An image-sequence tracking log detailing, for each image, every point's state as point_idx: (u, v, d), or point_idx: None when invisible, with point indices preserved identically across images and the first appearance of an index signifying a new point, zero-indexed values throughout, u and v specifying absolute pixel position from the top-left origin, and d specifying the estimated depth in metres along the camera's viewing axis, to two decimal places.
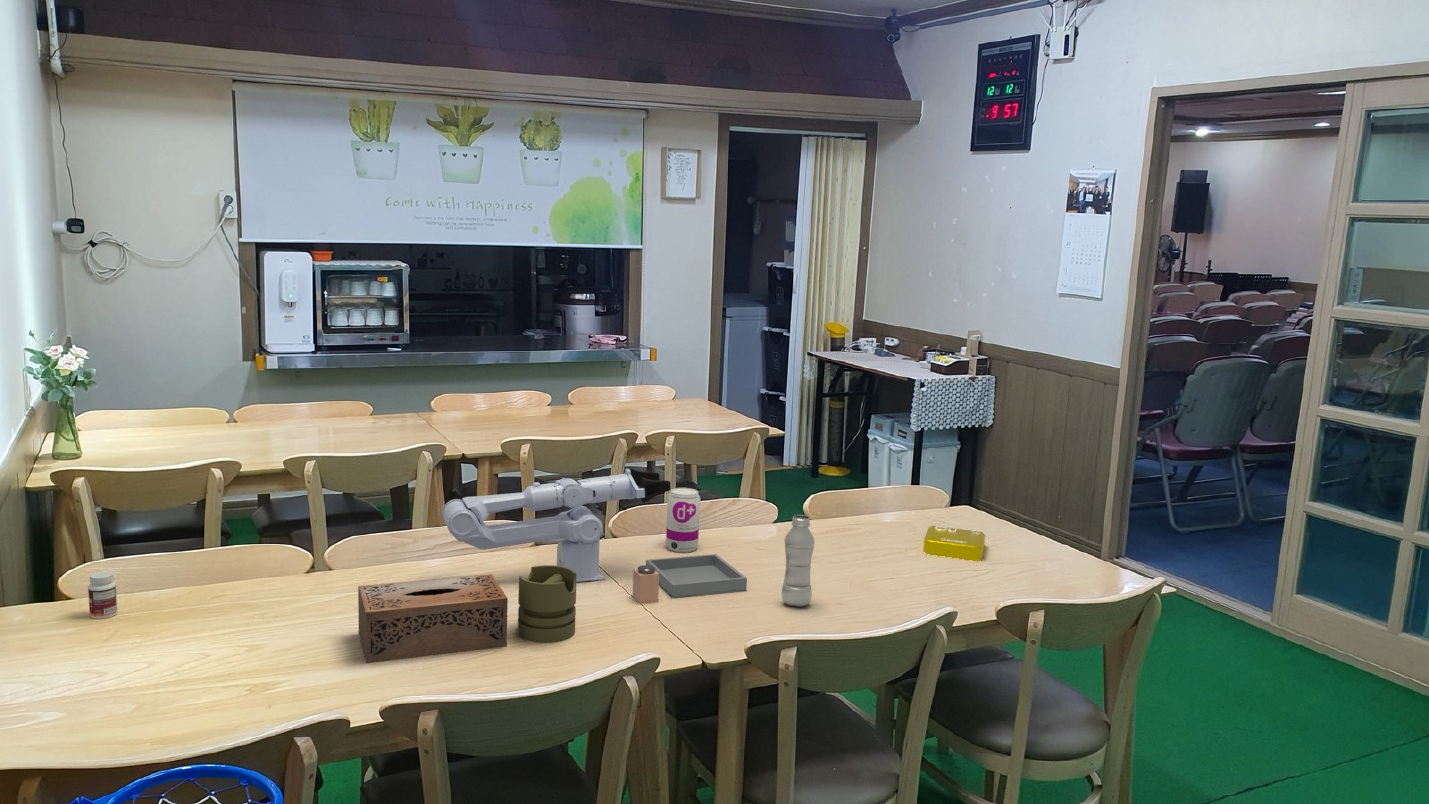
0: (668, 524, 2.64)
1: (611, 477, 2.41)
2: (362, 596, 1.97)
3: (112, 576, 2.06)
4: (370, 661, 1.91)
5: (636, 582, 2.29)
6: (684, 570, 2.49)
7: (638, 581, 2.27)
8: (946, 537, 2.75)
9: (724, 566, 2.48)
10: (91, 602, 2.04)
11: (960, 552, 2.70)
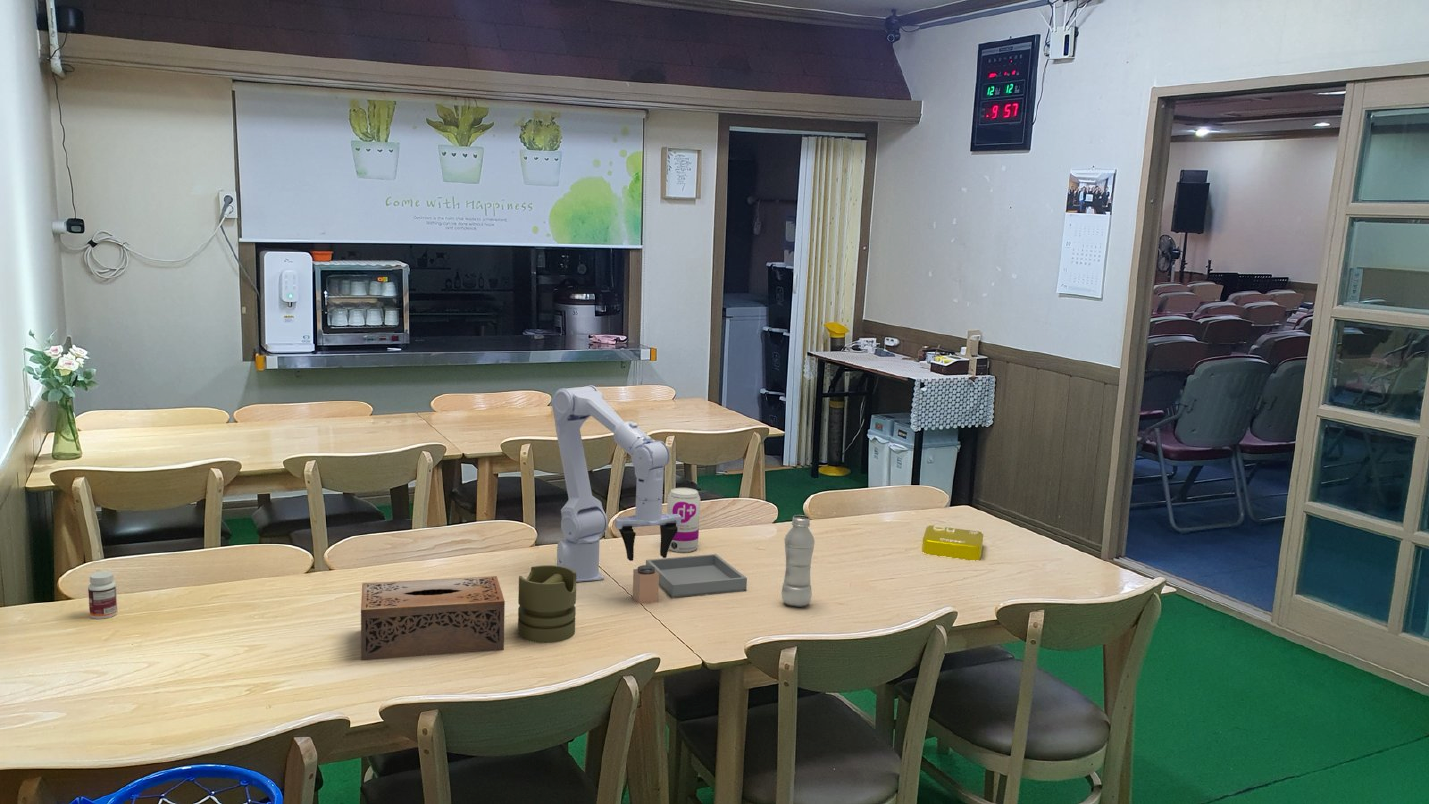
0: None
1: (650, 503, 2.24)
2: (363, 593, 1.98)
3: (112, 576, 2.06)
4: (365, 658, 1.92)
5: (636, 582, 2.29)
6: (684, 570, 2.49)
7: (638, 581, 2.27)
8: (944, 537, 2.75)
9: (724, 566, 2.48)
10: (91, 602, 2.04)
11: (959, 552, 2.70)
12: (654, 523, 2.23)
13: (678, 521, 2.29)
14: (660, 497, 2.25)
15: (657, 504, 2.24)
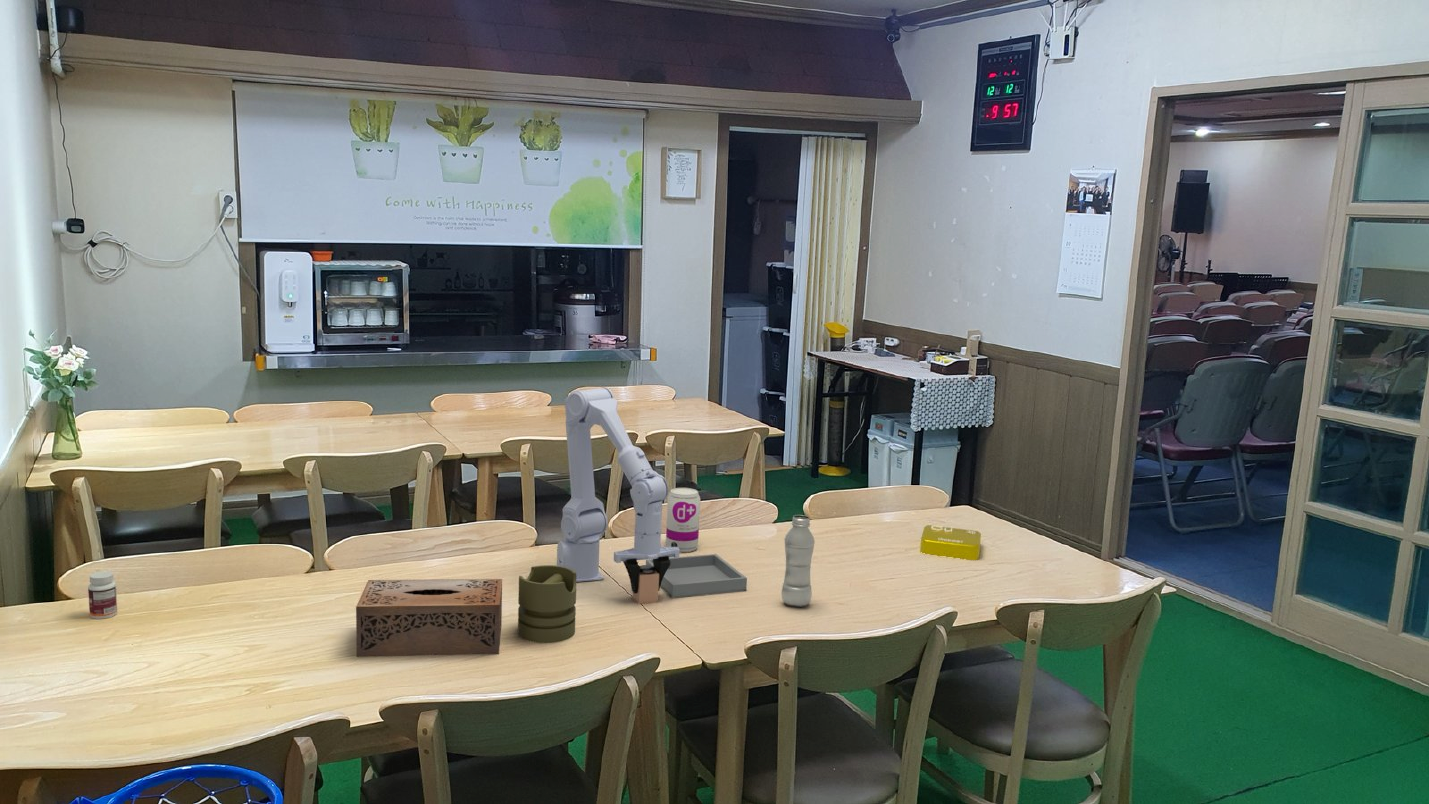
0: (668, 524, 2.64)
1: (649, 537, 2.25)
2: (364, 590, 2.00)
3: (112, 576, 2.06)
4: (361, 655, 1.94)
5: None
6: (684, 570, 2.49)
7: (638, 581, 2.27)
8: (943, 537, 2.75)
9: (724, 566, 2.48)
10: (91, 602, 2.04)
11: (957, 552, 2.70)
12: (653, 557, 2.25)
13: (677, 554, 2.30)
14: (659, 531, 2.26)
15: (656, 538, 2.26)
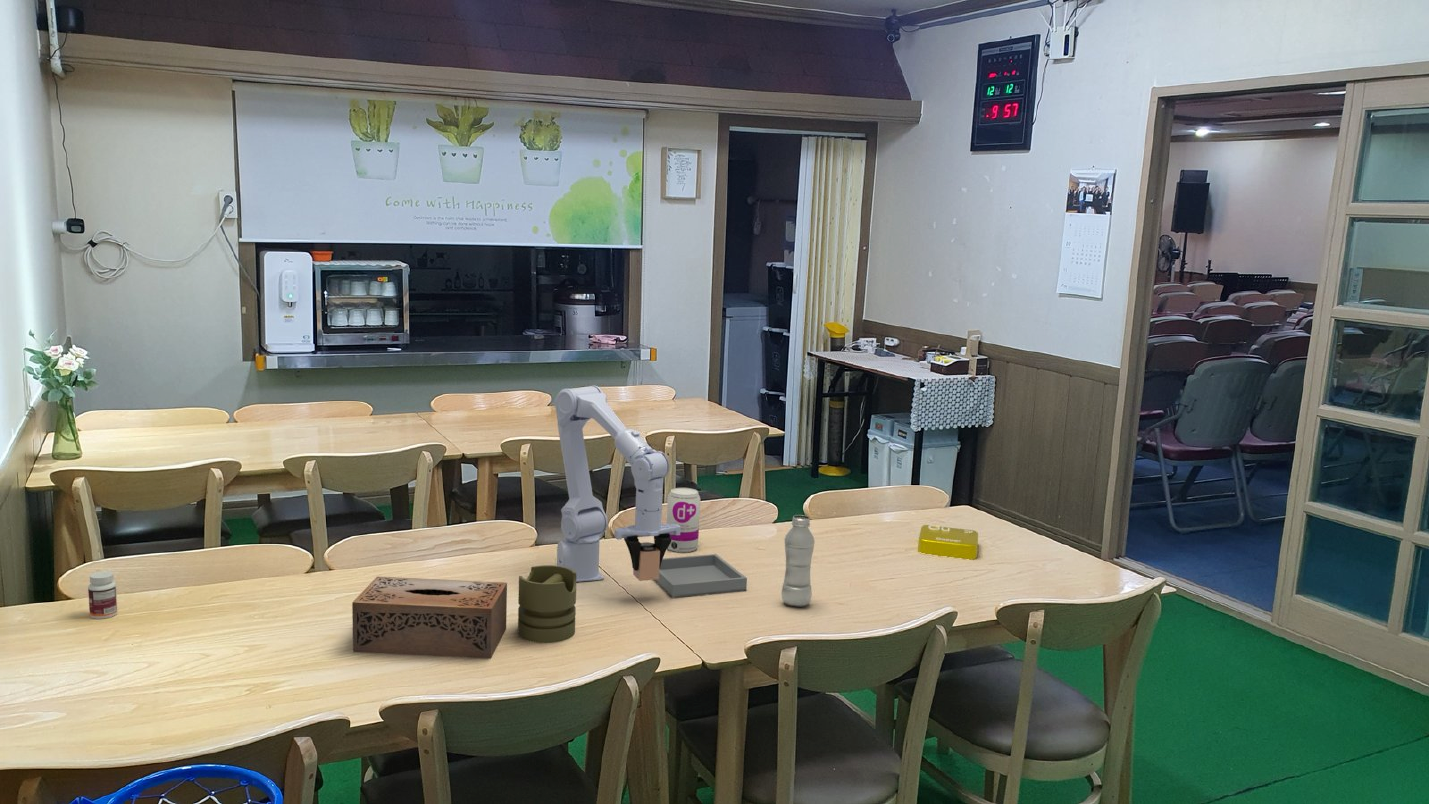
0: None
1: (649, 514, 2.24)
2: (368, 586, 2.02)
3: (112, 576, 2.06)
4: (357, 650, 1.96)
5: None
6: (684, 570, 2.49)
7: (639, 558, 2.26)
8: (940, 536, 2.75)
9: (724, 566, 2.48)
10: (91, 602, 2.04)
11: (955, 551, 2.70)
12: (653, 534, 2.24)
13: (677, 531, 2.29)
14: (660, 508, 2.25)
15: (657, 515, 2.25)
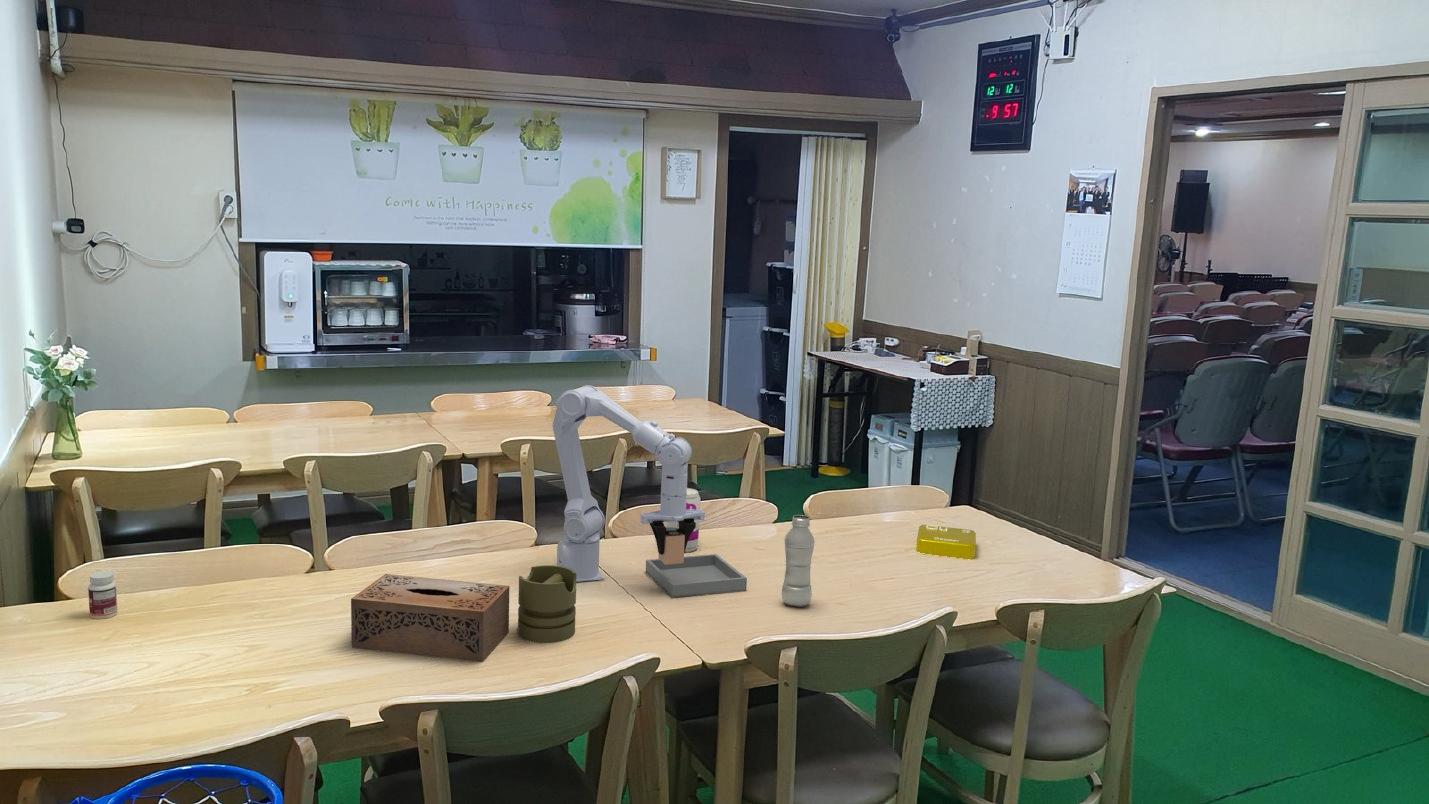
0: (668, 524, 2.64)
1: (675, 499, 2.30)
2: (372, 583, 2.04)
3: (112, 576, 2.06)
4: (355, 646, 1.97)
5: None
6: (684, 570, 2.49)
7: (664, 542, 2.32)
8: (938, 536, 2.75)
9: (724, 566, 2.48)
10: (91, 602, 2.04)
11: (954, 551, 2.70)
12: (679, 518, 2.30)
13: (702, 516, 2.35)
14: (686, 492, 2.32)
15: (681, 500, 2.31)
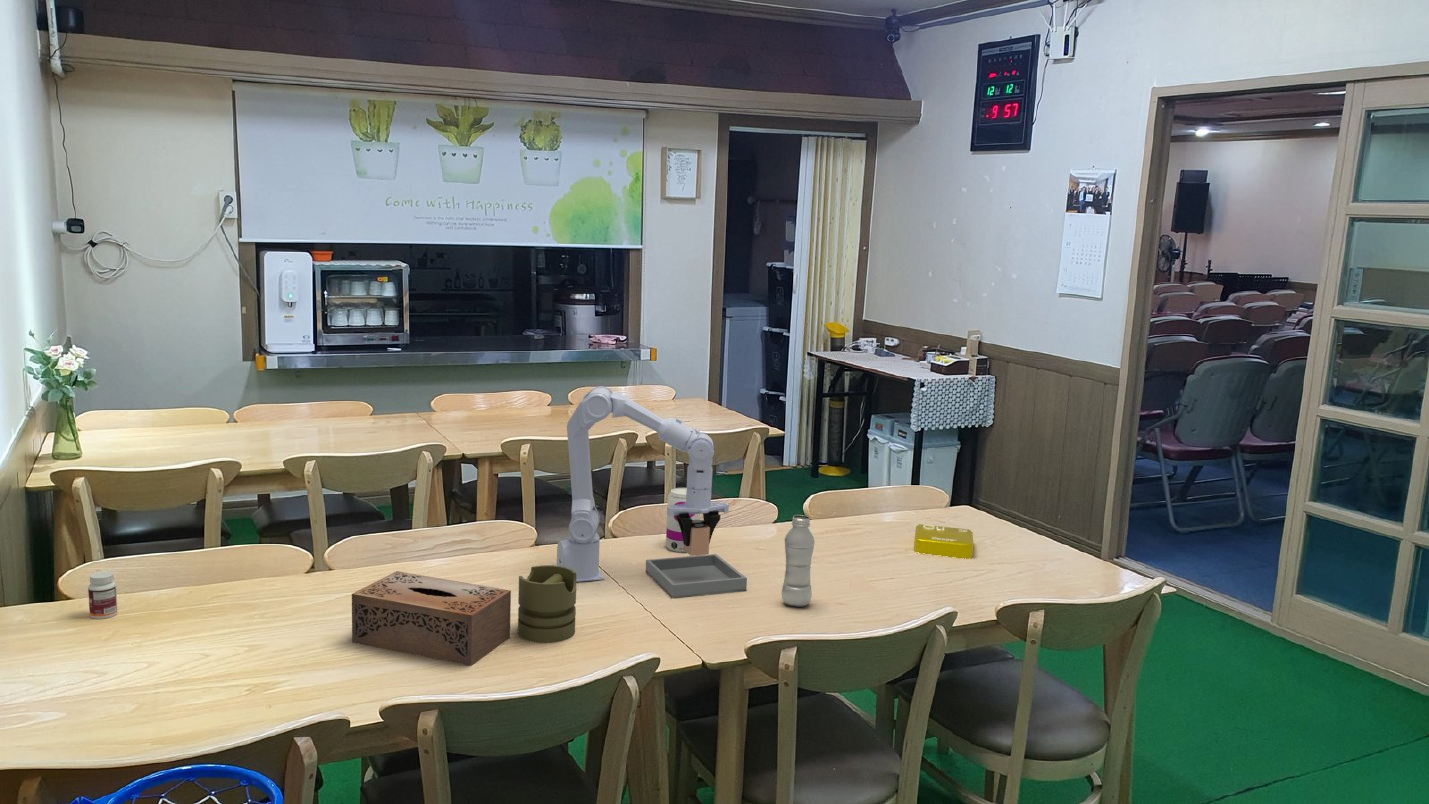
0: (668, 524, 2.64)
1: (700, 492, 2.37)
2: (379, 580, 2.06)
3: (112, 576, 2.06)
4: (355, 641, 2.00)
5: None
6: (684, 570, 2.49)
7: (690, 534, 2.39)
8: (936, 536, 2.76)
9: (724, 566, 2.48)
10: (91, 602, 2.04)
11: (951, 551, 2.71)
12: (704, 511, 2.37)
13: (726, 509, 2.42)
14: None
15: (707, 493, 2.38)
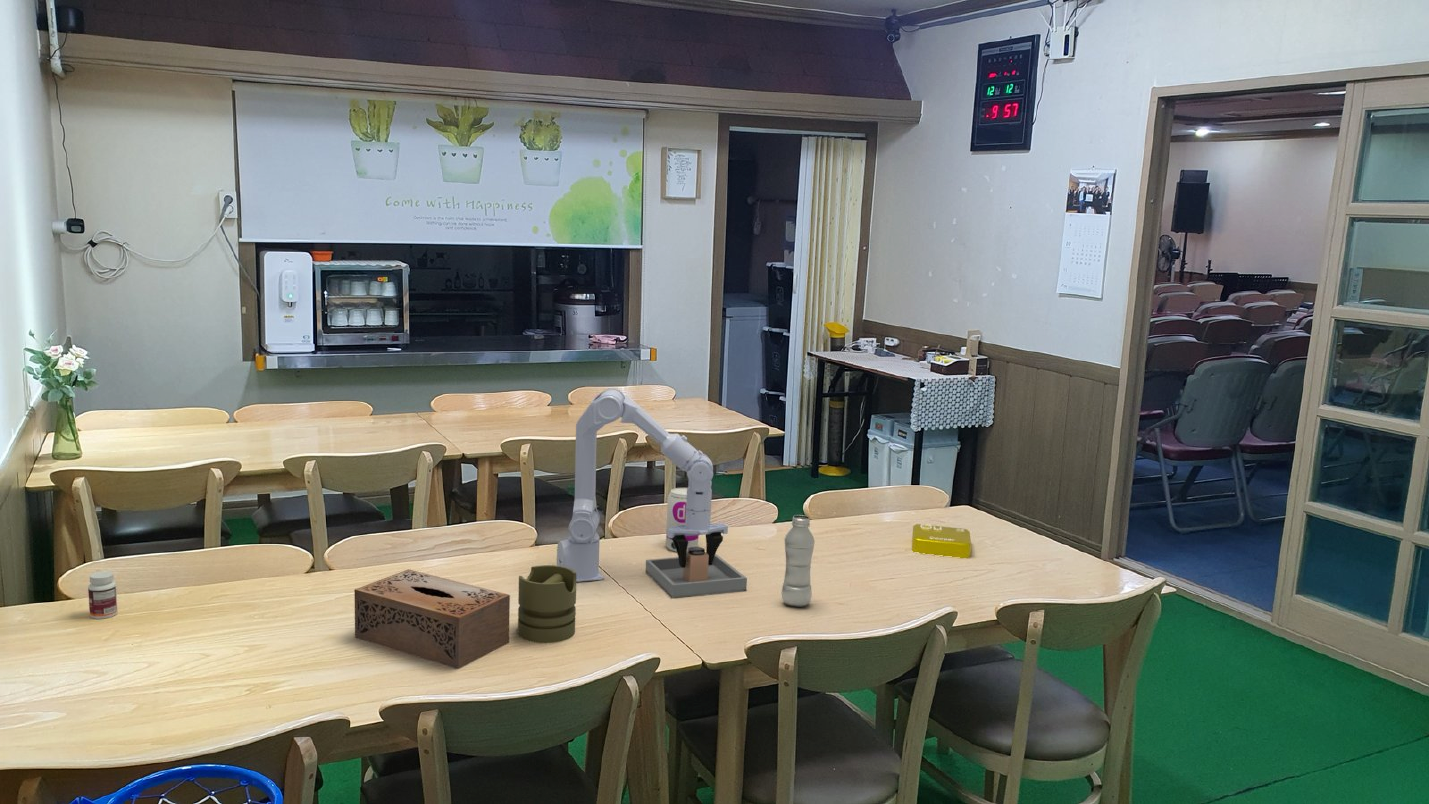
0: (668, 524, 2.64)
1: (700, 513, 2.38)
2: (387, 577, 2.08)
3: (112, 576, 2.06)
4: (358, 637, 2.02)
5: (686, 562, 2.42)
6: None
7: (689, 561, 2.40)
8: (933, 535, 2.76)
9: (724, 566, 2.48)
10: (91, 602, 2.04)
11: (949, 550, 2.71)
12: (704, 532, 2.37)
13: (725, 530, 2.43)
14: None
15: (706, 514, 2.38)
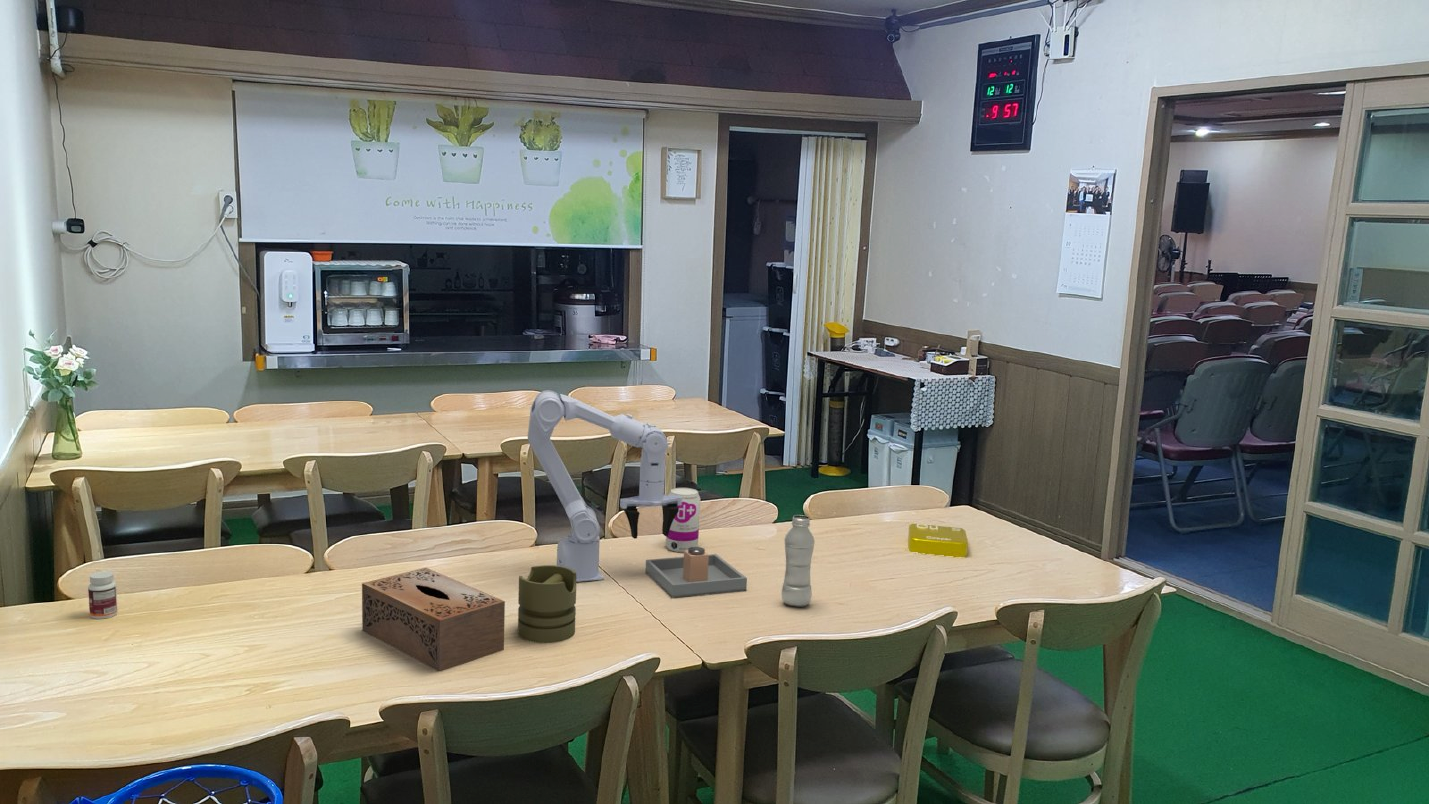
0: None
1: (653, 484, 2.40)
2: (400, 574, 2.10)
3: (112, 576, 2.06)
4: (364, 630, 2.05)
5: (686, 562, 2.42)
6: None
7: (689, 561, 2.40)
8: (930, 535, 2.76)
9: (724, 566, 2.48)
10: (91, 602, 2.04)
11: (946, 550, 2.71)
12: (657, 503, 2.39)
13: (679, 502, 2.45)
14: None
15: (659, 485, 2.40)
